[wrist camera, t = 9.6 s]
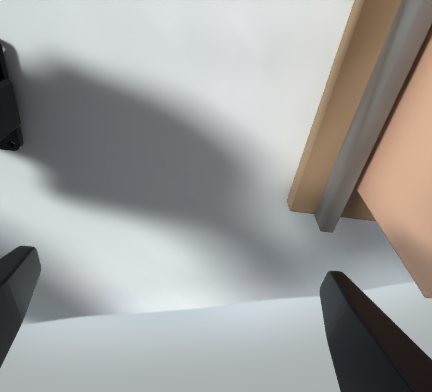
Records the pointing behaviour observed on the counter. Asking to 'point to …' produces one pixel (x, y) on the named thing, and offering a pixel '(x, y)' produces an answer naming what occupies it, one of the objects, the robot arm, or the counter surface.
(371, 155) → the door panel
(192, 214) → the counter surface
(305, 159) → the door track
